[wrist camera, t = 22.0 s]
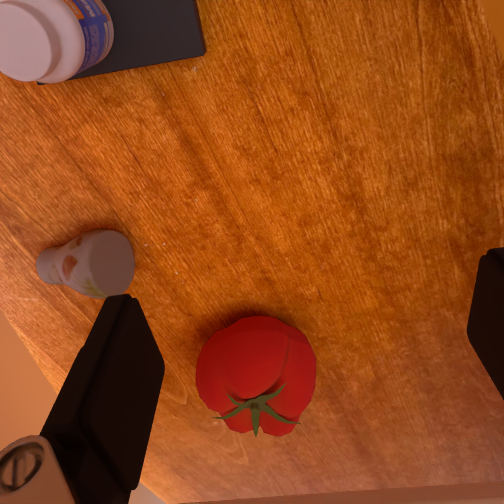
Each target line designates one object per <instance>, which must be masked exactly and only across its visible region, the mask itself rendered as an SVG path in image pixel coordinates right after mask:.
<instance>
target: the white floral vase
mask: <svg viewBox="0 0 504 504" xmlns="http://www.w3.org/2000/svg"><path fill="white" fill-rule="evenodd" d="M36 268H37V273H38V274H39V276H40V278H41V279H42V280H43V281H44V282H46V283H48V284H63V285H66V286H68V287H70V288H72V289H74V290H75V291H77V292H79V293H81V294H83V295H86V296H88V297H92V298H97V299H105V298H107V297H108V296H113V295H120V294H122V293H124V292H125V291H126V289H127V288H128V287H129V285H130V284H131V281H132V279H133V276H134V269H135V259H134V255H133V250H132V246H131V244H130V242H129V240H128V239H127V238H126V237H125V236H124V235H123V234H122V233H120V232H117V231H113V230H110V229H95V230H91V231H88V232H85V233H83V234H81V235H79V236H77V237H76V238H74V239H73V240H71V241H70V242H68V243H67V244H65V245H64V246H61V247H51V248H46V249H45V250H43V251H42V252H41V253H40V254H39V256H38V258H37V261H36Z"/></svg>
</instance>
